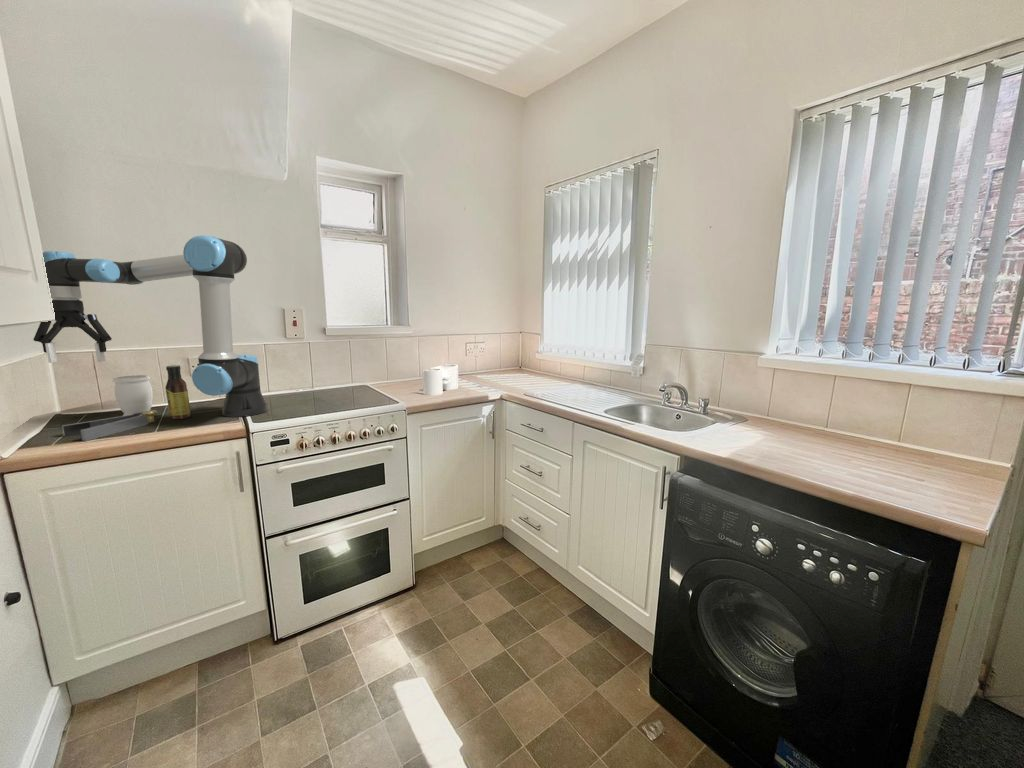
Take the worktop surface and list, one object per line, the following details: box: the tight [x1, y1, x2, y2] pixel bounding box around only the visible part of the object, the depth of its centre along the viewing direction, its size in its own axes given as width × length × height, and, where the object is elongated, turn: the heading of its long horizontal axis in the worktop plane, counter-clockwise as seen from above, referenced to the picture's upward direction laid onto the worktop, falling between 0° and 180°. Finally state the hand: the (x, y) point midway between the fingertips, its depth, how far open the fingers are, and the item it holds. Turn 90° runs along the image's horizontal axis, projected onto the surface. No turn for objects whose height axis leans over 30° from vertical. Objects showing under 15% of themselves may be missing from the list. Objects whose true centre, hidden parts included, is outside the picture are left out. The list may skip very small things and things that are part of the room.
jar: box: [112, 374, 154, 416], centre depth 156 cm, size 11×10×15 cm
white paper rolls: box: [422, 363, 459, 396], centre depth 210 cm, size 25×10×12 cm, turn 160°
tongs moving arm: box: [61, 409, 158, 438], centre depth 141 cm, size 24×4×4 cm, turn 146°
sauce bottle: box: [165, 364, 192, 420], centre depth 154 cm, size 7×6×20 cm
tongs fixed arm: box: [79, 414, 155, 442], centre depth 139 cm, size 22×3×4 cm, turn 171°
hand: (77, 361), depth 143 cm, fingers open, 13 cm apart
